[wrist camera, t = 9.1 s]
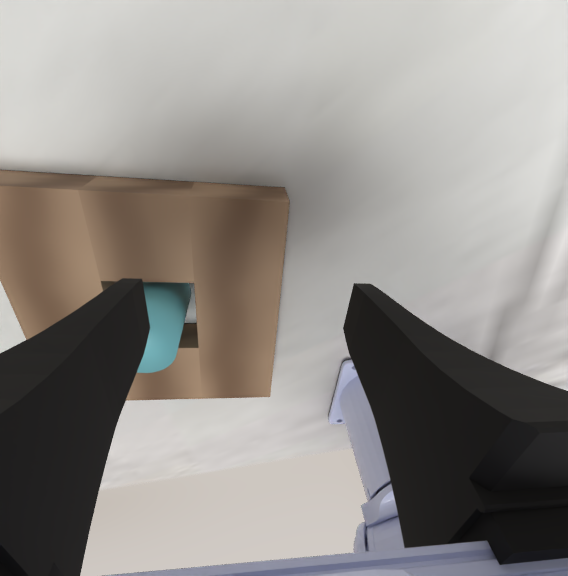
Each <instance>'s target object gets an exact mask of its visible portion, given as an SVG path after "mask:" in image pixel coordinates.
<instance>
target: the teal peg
mask: <svg viewBox="0 0 568 576" xmlns="http://www.w3.org/2000/svg"><path fill="white" fill-rule="evenodd" d="M143 287H144V293H145V299H146V305H147V311H148V317H149V323H150V331H149V335H148V340H147V344H146V348H145V352H144V355H143V358H142V360H141V363H140V365H139V368H138V370H137V372H138V373H152V372H157V371H160V370H163V369H165V368H167V367H168V366H169V365H170V364H172V362H173V361H174V360H175V358H176V355H177V350H178V346H179V342H180V338H181V334H182V330H183V325H184V321H185V317H186V313H187V309H188V305H189V300H190V296H191V289H190V286H189V283H171V282H143Z"/></svg>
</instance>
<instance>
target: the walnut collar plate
mask: <svg viewBox="0 0 568 576" xmlns="http://www.w3.org/2000/svg"><path fill="white" fill-rule="evenodd" d="M289 204H290V201H289V198H288V196H287V193H286V190H285V187H268V186H252V185H236V184H220V183H203V182H187V181H171V180H155V179H138V178H122V177H106V176H90V175H73V174H57V173H41V172H25V171H8V170H0V281H1V283H2V285H3V287H4V290H5V292H6V294H7V297H8V299H9V301H10V303H11V306H12V308H13V310H14V312H15V315H16V317H17V319H18V321H19V324H20V326H21V328H22V331H23V333H24V335H25V337H26V340H28V339H29V338H31V337H33V336H35V335H37V334H38V333H40V332H42V331H43V330H45V329H47V328H48V327H50V326H52V325H53V324H55V323H56V322H58V321H60V320H61V319H63V318H64V317H66V316H67V315H69V314H71V313H72V312H74V311H75V310H77V309H78V308H80V307H81V306H83V305H84V304H86V303H87V302H88V301H90V300H91V299H93V298H94V297H96V296H97V295H98V294H100V293H101V292H103V291H104V290H106V289H107V288H108V287H110V286H111V285H113V284H114V283H116V282H117V281H119V280H120V279H122V278H135V279H142V281H143V282H171V283H194V288H195V303H196V317H197V324H184V325H183V330H182V334H181V338H180V342H179V346H178V350H177V355H176V358H175V360H174V361H173V362H172V364H170V365H169V366H168V367H167V368H165V369H163V370H160V371H157V372H152V373H138V372H137V373H136V376H135V378H134V381H133V383H132V386H131V388H130V391H129V393H128V396H127V398H126V400H162V399H203V398H244V397H270V392H271V382H272V372H273V362H274V352H275V343H276V333H277V323H278V313H279V303H280V293H281V283H282V273H283V263H284V253H285V243H286V233H287V224H288V214H289Z"/></svg>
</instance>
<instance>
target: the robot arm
mask: <svg viewBox="0 0 568 576" xmlns="http://www.w3.org/2000/svg"><path fill="white" fill-rule="evenodd" d="M343 329H344V333H345V338H346V342H347V346H348V350H349V354H350V356H351V359H352V360H346V361H344V362H343V364H342V367H341V371H340V374H339V378H338V382H337V386H336V390H335V394H334V398H333V402H332V405H331V409H330V413H329V417H328V420H329V423H331V424H346V428H347V431H348V435H349V438H350V442H351V445H352V449H353V452H354V455H355V459H356V462H357V466H358V469H359V473H360V476H361V480H362V483H363V487H364V490H365V493H366V497H367V500H368V502H367V503H364V504H362V505H361V508H362V511H363V515H364V519H365V522H362V523H361V524H359V526H358V527H357V531H356V537H355V541H354V553H345V554H335V555H324V556H313V557H302V558H291V559H280V560H270V561H258V562H247V563H236V564H225V565H214V566H203V567H192V568H181V569H170V570H159V571H149V572H137V573H127V574H117V575H116V574H115V575H104V576H568V391H566V390H563V389H560V388H557V387H554V386H551V385H548V384H546V383H543V382H541V381H538V380H536V379H533V378H531V377H528V376H526V375H523V374H521V373H518V372H516V371H514V370H511V369H509V368H507V367H504V366H502V365H500V364H498V363H496V362H494V361H492V360H490V359H487V358H485V357H483V356H481V355H479V354H477V353H475V352H473V351H471V350H470V349H468V348H466V347H464V346H462V345H461V344H459V343H457V342H455V341H453V340H452V339H450V338H448V337H447V336H445V335H443V334H442V333H440V332H439V331H437V330H435V329H434V328H432V327H431V326H429V325H428V324H426V323H425V322H423V321H422V320H420V319H419V318H418V317H416V316H415V315H413V314H412V313H410V312H409V311H408V310H406V309H405V308H404V307H402V306H401V305H400V304H398V303H397V302H396V301H394V300H393V299H392V298H390V297H389V296H388V295H386V294H385V293H383V292H382V291H381V290H379V289H378V288H376V287H375V286H373V285H372V284H355V283H354V286H353V290H352V294H351V298H350V303H349V307H348V311H347V315H346V319H345V323H344V327H343ZM149 331H150V323H149V317H148V311H147V305H146V299H145V293H144V287H143V281H142V279H135V278H122V279H120V280H119V281H117V282H116V283H114V284H113V285H111V286H110V287H108V288H107V289H106V290H104V291H103V292H101V293H100V294H98V295H97V296H96V297H94V298H93V299H91V300H90V301H88V302H87V303H86V304H84V305H83V306H81V307H80V308H78V309H77V310H75V311H74V312H72V313H71V314H69V315H67V316H66V317H64V318H63V319H61V320H60V321H58V322H56V323H55V324H53V325H52V326H50V327H48V328H47V329H45V330H43V331H42V332H40V333H38V334H37V335H35V336H33V337H31V338H29V339H28V340H26V341H24V342H22V343H20V344H18V345H16V346H14V347H12V348H10V349H8V350H6V351H4V352H2V353H0V576H80V573H81V568H82V563H83V558H84V554H85V549H86V544H87V539H88V534H89V530H90V526H91V521H92V517H93V513H94V508H95V504H96V499H97V496H98V491H99V487H100V484H101V480H102V476H103V472H104V468H105V464H106V460H107V456H108V453H109V449H110V446H111V442H112V438H113V435H114V431H115V428H116V425H117V422H118V419H119V416H120V413H121V411H122V408H123V406H124V403H125V401H126V398H127V396H128V393H129V391H130V388H131V386H132V383H133V381H134V378H135V376H136V373H137V370H138V368H139V365H140V363H141V360H142V358H143V355H144V352H145V348H146V344H147V340H148V335H149Z"/></svg>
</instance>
